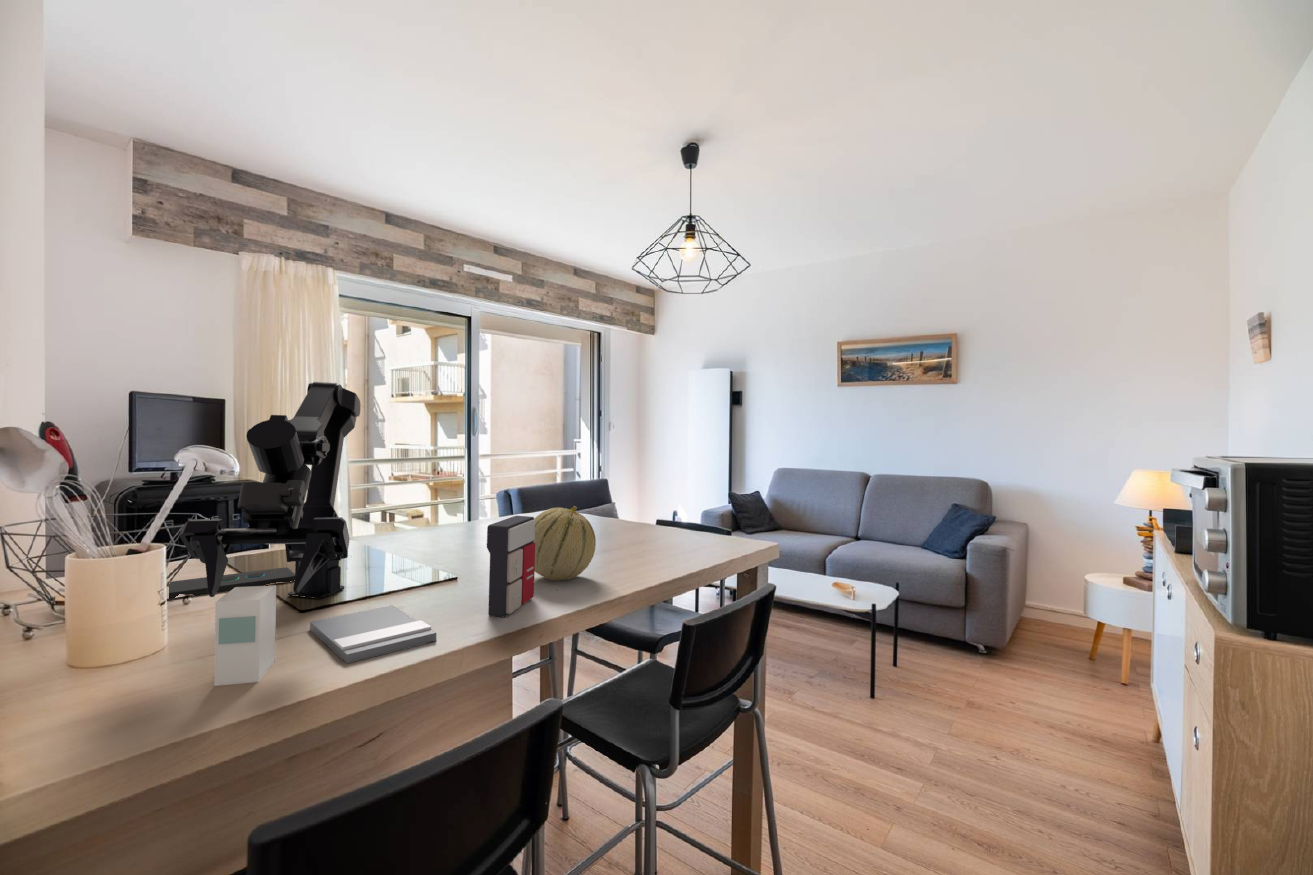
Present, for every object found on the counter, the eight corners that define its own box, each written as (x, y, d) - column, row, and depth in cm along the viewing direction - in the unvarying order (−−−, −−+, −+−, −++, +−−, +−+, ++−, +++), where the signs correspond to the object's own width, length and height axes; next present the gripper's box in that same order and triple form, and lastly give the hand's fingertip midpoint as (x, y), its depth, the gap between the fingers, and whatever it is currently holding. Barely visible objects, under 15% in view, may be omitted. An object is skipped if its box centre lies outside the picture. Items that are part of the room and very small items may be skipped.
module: (234, 665, 74) (235, 587, 73) (274, 661, 75) (276, 585, 75) (213, 686, 68) (214, 602, 67) (257, 682, 69) (259, 600, 69)
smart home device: (296, 575, 110) (158, 593, 96) (296, 584, 110) (157, 604, 96) (287, 566, 116) (155, 582, 102) (287, 574, 116) (155, 592, 102)
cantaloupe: (511, 574, 120) (513, 502, 120) (575, 566, 128) (577, 499, 128) (538, 593, 108) (540, 513, 108) (607, 583, 116) (610, 509, 116)
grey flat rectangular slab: (346, 663, 75) (347, 651, 75) (310, 629, 86) (310, 618, 86) (436, 640, 84) (436, 629, 84) (392, 612, 95) (392, 602, 95)
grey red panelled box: (508, 618, 94) (511, 527, 94) (484, 616, 95) (486, 525, 94) (536, 598, 105) (538, 516, 104) (514, 596, 106) (516, 515, 105)
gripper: (187, 458, 75) (140, 562, 65) (347, 460, 81) (327, 556, 71) (212, 509, 83) (173, 609, 73) (356, 508, 89) (339, 600, 78)
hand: (253, 593), depth 73 cm, fingers open, 9 cm apart
